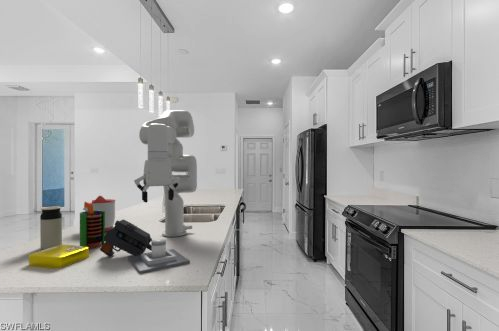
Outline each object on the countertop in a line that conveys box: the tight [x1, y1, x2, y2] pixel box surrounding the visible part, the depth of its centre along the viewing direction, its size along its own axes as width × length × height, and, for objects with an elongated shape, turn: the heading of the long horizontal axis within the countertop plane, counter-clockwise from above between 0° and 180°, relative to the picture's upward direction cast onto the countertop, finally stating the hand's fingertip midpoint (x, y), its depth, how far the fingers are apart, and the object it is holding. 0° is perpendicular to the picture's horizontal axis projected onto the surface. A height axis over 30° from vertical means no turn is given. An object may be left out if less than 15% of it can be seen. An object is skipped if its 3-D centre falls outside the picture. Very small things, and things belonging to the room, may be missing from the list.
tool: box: [99, 219, 153, 258], centre depth 117 cm, size 6×19×15 cm, turn 95°
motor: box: [79, 201, 106, 250], centre depth 130 cm, size 10×9×20 cm
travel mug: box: [39, 205, 63, 250], centre depth 129 cm, size 8×8×18 cm
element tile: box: [28, 244, 90, 270], centre depth 111 cm, size 15×15×5 cm
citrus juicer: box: [82, 195, 116, 233], centre depth 161 cm, size 16×17×20 cm
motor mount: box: [128, 248, 191, 274], centre depth 110 cm, size 18×18×2 cm
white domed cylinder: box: [150, 238, 167, 259], centre depth 110 cm, size 5×5×7 cm
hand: (158, 201), depth 110 cm, fingers open, 9 cm apart
